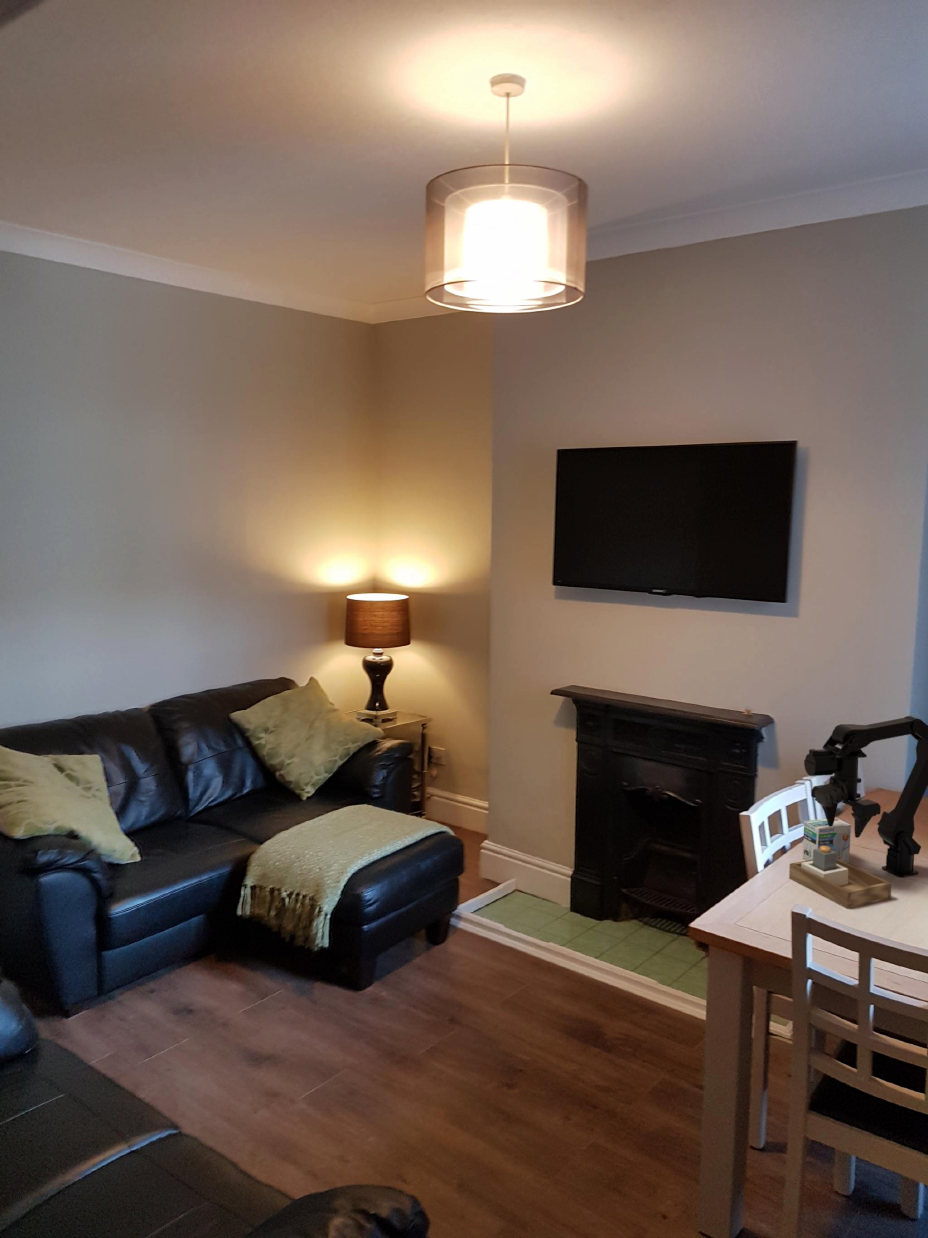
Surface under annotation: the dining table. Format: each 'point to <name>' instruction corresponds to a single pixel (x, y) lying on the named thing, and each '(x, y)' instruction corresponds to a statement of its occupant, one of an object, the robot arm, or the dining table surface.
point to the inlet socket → (829, 873)
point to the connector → (824, 858)
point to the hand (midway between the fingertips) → (843, 831)
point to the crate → (853, 894)
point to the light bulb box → (827, 838)
